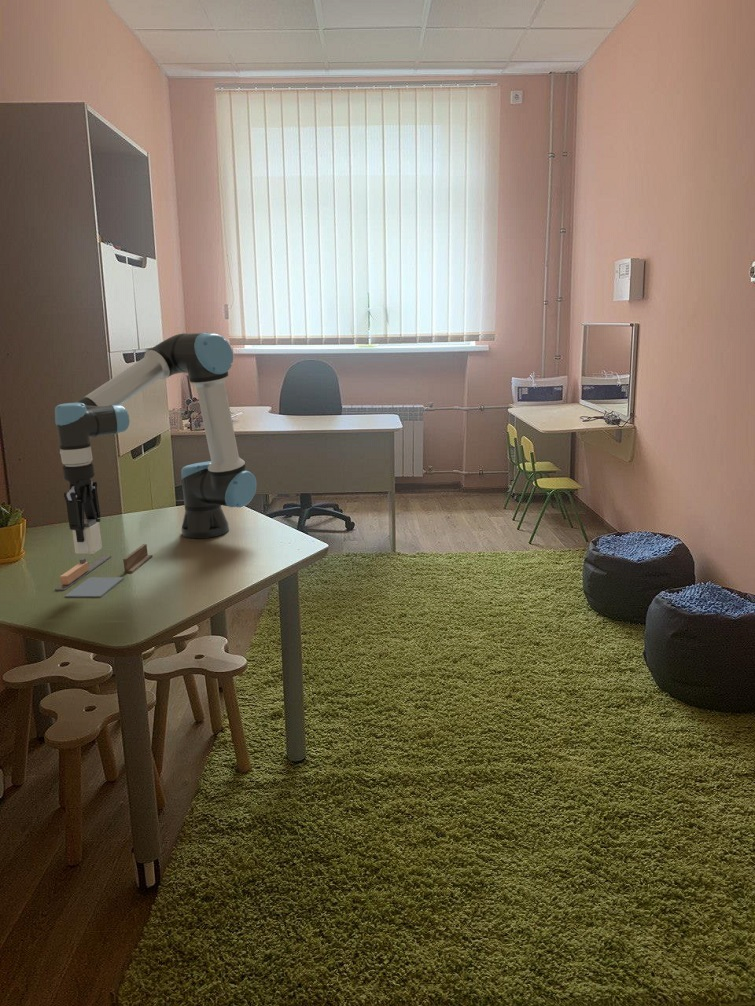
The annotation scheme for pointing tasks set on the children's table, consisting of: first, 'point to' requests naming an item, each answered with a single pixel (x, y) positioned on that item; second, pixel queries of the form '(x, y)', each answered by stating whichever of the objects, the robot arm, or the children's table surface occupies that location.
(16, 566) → the children's table surface
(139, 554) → the fence
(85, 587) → the felt mat
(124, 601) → the children's table surface
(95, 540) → the plug block
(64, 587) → the track
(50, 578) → the children's table surface
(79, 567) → the bar
